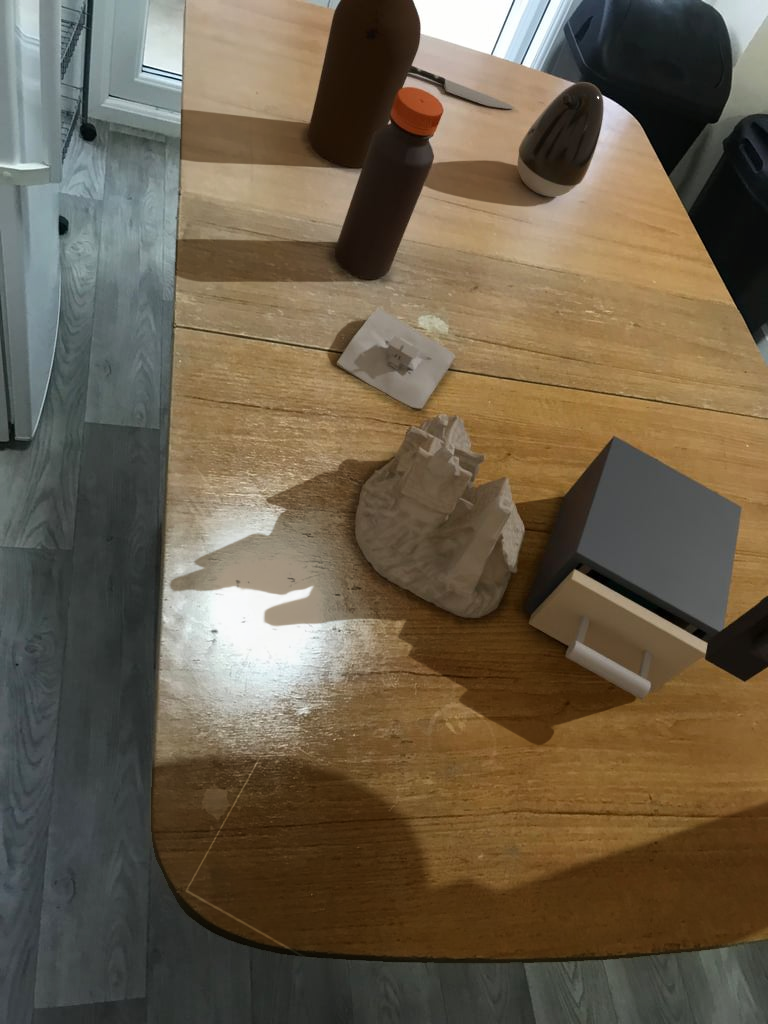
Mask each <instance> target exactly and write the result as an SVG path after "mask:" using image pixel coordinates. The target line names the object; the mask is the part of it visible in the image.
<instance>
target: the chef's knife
mask: <svg viewBox="0 0 768 1024" xmlns="http://www.w3.org/2000/svg"><path fill="white" fill-rule="evenodd" d="M408 74H414V75H418V76H421V77H423V78H426V79H429V80H430V81H431V82H432V81H433V82H434V83H437V84H439V85H442V86H443V87H444V89H445V92H447V93H450V94H452V95H455V96H458V97H461V98H463V99H466V100H469V101H472V102H475V103H478V104H480V105H484V106H487V107H493V108H499V109H507V110H508V109H514V108H516V106H514V105H511V104H509V103H507V102H505V101H503V100H501V99H498V98H495V97H493V96H490V95H488V94H486V93H483V92H480V91H478V90H475V89H472V88H470V87H467V86H464V85H461V84H459V83H457V82H455V81H452V80H449V79H447V78H445V77H443V76H440V75H437V74H435V73H432V72H429V71H426V70H424V69H421V68H419V67H417V66H414V65H412V66H411V68H410V71H409V73H408Z"/></svg>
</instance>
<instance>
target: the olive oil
mask: <svg viewBox="0 0 768 1024" xmlns="http://www.w3.org/2000/svg"><path fill="white" fill-rule="evenodd" d="M421 25H422V24H421V19H420V14H419V12H418V9H417V7H416V4H415V2H414V0H340V1H339V2H338V3H337V6H336V7H335V10H334V12H333V16H332V20H331V24H330V29H329V34H328V39H327V45H326V48H325V52H324V53H325V54H324V60H323V64H322V67H321V72H320V78H319V83H318V86H317V91H316V96H315V101H314V106H313V109H312V112H311V116H310V117H311V118H310V121H309V126H308V130H307V140H308V143H309V145H310V147H311V148H312V149H313V150H314V151H315V152H316V153H317V154H319V155H320V156H321V157H322V158H324V159H325V160H327V161H329V162H331V163H334V164H336V165H338V166H342V167H346V168H354V169H355V168H357V169H358V168H362V167H363V164H364V161H365V158H366V155H367V152H368V149H369V146H370V143H371V140H372V138H373V135H374V133H375V131H377V130H378V129H380V128H381V127H383V126H386V125H388V124H390V115H391V110H392V107H393V104H394V101H395V98H396V95H397V92H398V90H400V89H401V88H404V85H405V83H406V80H407V77H408V75H409V74H410V73H409V71H410V68H411V66H413V63H414V61H415V58H416V55H417V53H418V50H419V47H420V43H421V32H422V31H421V30H422V28H421Z"/></svg>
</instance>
